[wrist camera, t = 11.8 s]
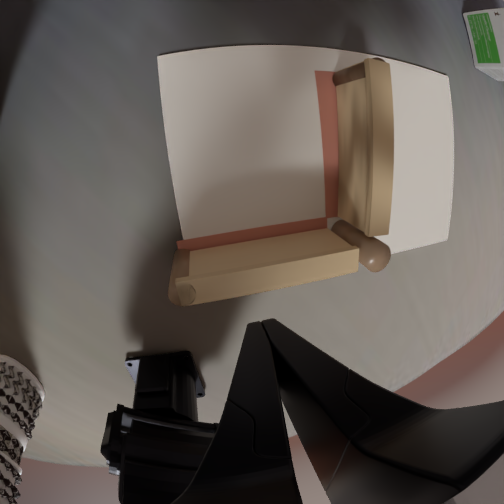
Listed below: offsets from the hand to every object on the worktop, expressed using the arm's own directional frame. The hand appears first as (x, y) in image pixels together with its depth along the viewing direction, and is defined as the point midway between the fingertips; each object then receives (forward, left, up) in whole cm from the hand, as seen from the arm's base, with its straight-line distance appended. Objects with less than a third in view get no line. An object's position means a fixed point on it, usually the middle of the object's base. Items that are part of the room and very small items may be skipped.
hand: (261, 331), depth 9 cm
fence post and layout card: (+4, -9, -12) cm, 16 cm away
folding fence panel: (+5, -9, -11) cm, 16 cm away
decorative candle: (-14, +29, -12) cm, 34 cm away
